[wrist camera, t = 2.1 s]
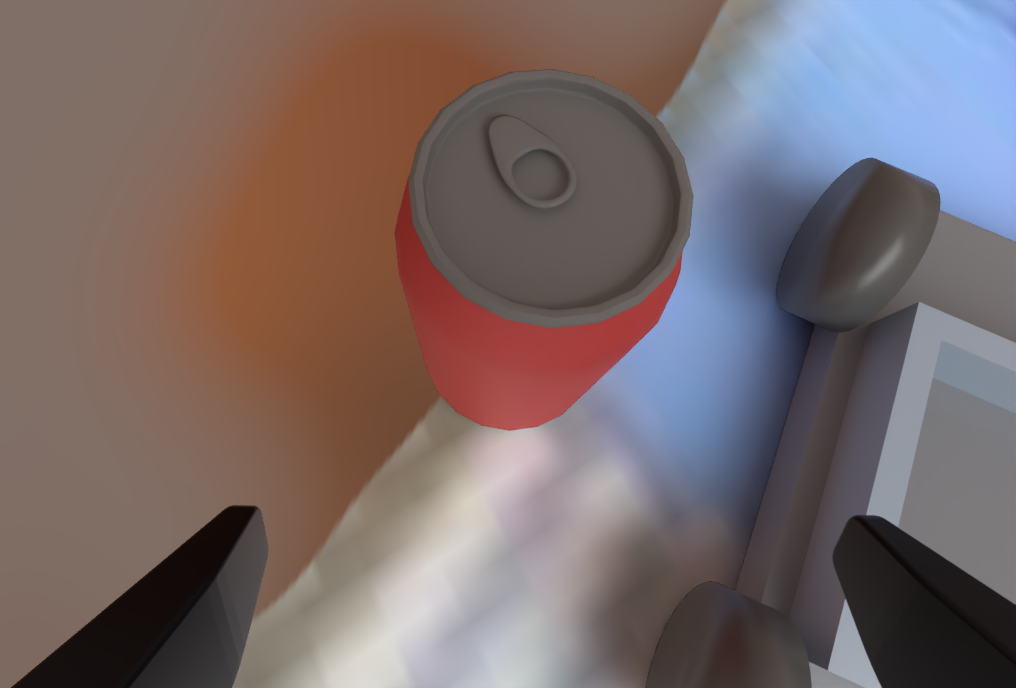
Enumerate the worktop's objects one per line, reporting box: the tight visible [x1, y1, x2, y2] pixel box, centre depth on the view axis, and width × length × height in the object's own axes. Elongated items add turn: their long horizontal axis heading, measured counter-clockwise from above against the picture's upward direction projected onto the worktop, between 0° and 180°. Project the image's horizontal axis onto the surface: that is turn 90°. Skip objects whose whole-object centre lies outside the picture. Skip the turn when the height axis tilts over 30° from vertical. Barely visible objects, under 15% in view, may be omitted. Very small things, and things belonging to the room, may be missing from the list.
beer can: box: [395, 69, 693, 430], centre depth 17 cm, size 7×7×12 cm
